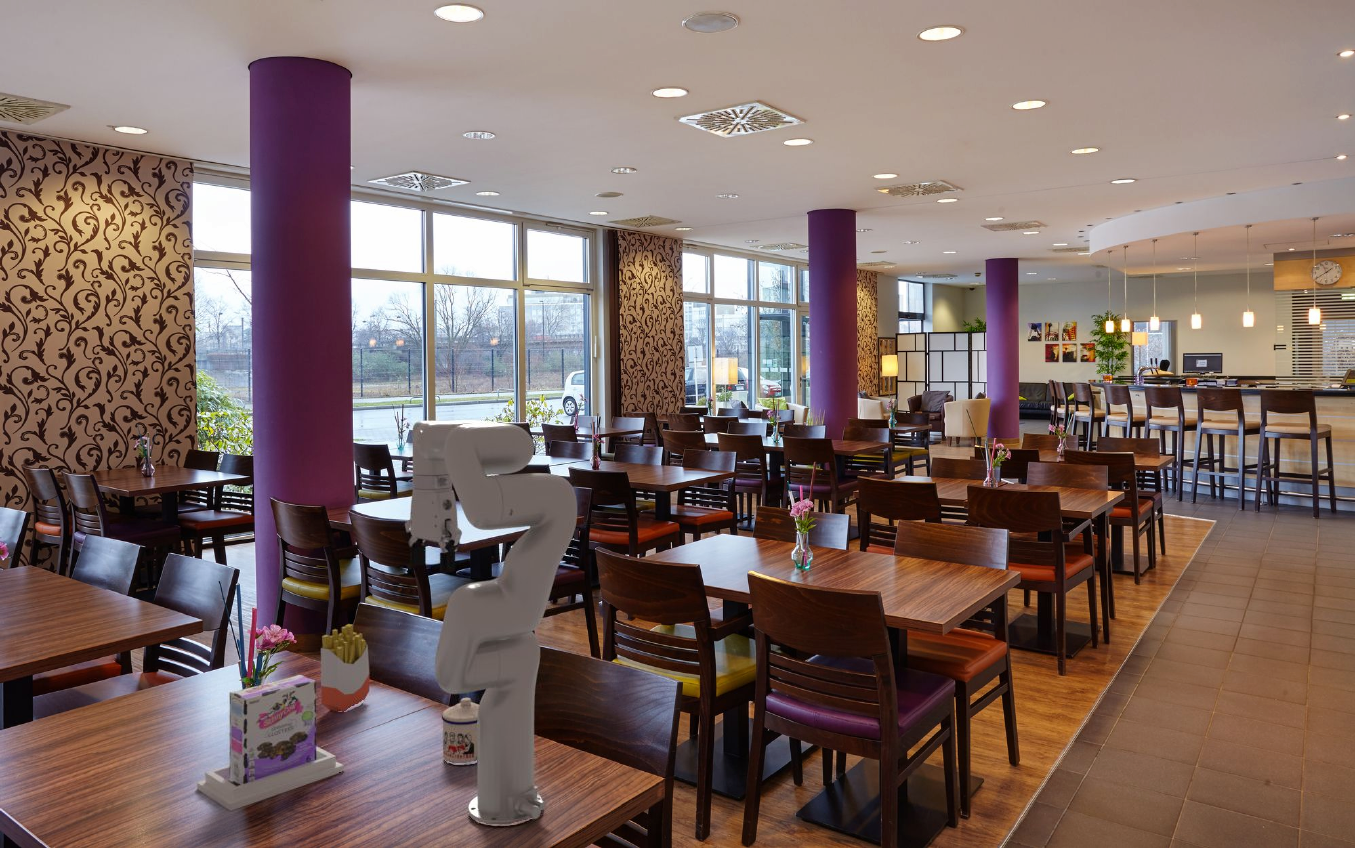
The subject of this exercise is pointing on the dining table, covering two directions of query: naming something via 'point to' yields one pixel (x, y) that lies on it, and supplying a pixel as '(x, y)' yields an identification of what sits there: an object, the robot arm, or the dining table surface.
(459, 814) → the dining table surface
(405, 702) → the dining table surface
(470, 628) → the robot arm
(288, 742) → the candy box
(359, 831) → the dining table surface
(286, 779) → the grey rectangular tray
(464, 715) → the teacup with lid
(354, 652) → the french fries container
